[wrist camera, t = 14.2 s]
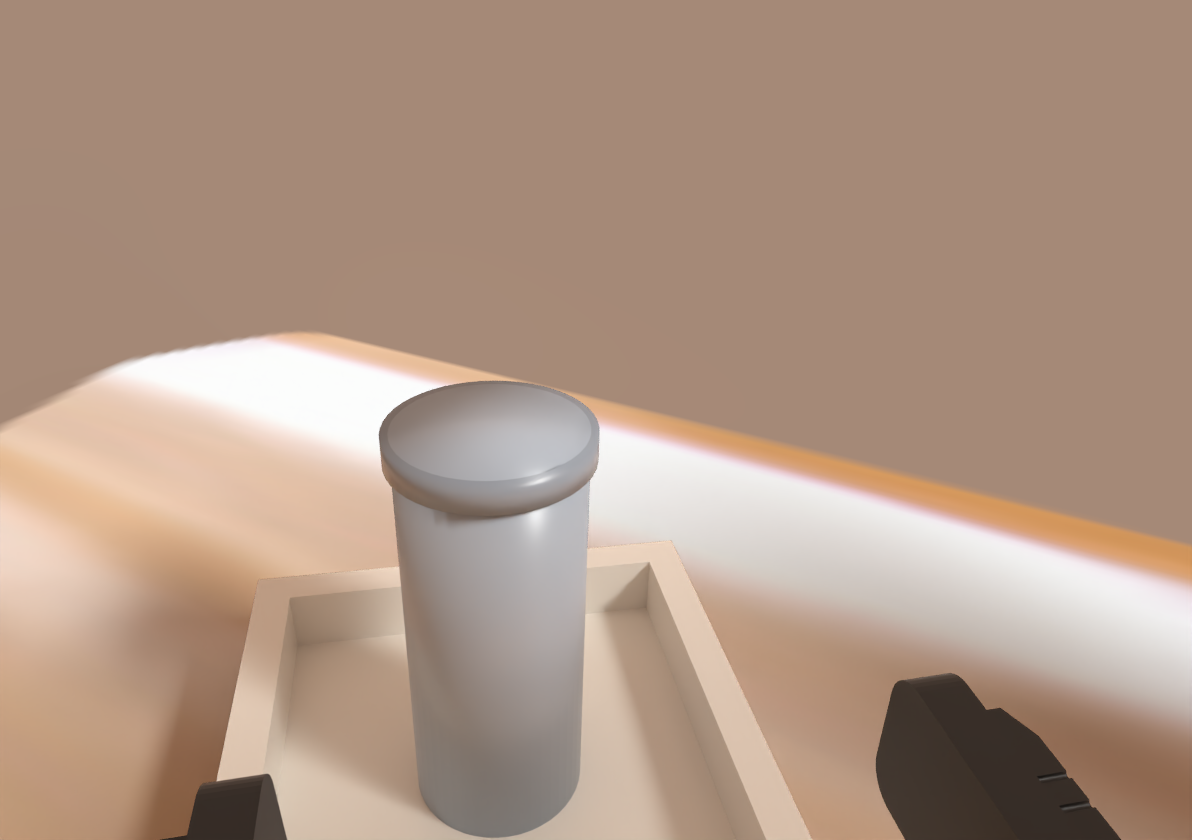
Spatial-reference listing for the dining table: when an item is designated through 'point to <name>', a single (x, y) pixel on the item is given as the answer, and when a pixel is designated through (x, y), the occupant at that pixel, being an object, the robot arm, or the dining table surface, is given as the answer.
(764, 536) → the dining table surface
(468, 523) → the canister
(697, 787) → the dish
